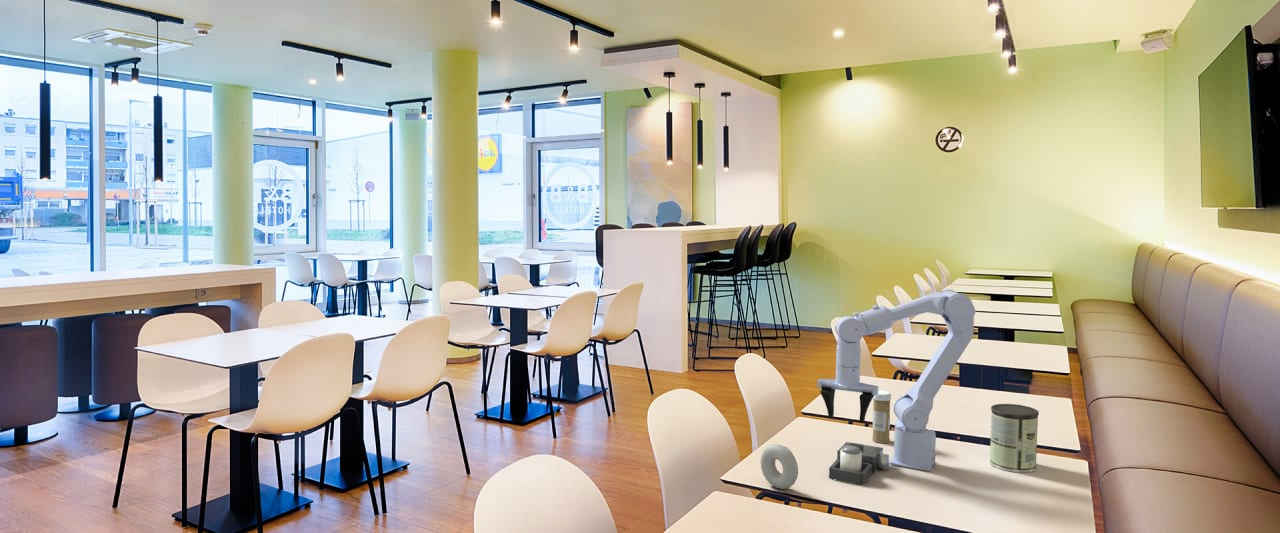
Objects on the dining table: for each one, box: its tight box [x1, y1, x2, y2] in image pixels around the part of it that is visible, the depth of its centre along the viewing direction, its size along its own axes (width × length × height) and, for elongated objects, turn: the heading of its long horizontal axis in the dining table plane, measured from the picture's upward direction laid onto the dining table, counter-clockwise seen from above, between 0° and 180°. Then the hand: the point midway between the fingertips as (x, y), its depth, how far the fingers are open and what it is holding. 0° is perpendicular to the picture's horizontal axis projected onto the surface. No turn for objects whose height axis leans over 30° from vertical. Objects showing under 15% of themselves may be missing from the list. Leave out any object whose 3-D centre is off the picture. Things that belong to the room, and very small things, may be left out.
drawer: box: [836, 441, 890, 475], centre depth 179 cm, size 11×8×5 cm
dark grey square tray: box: [828, 458, 873, 485], centre depth 173 cm, size 8×9×2 cm
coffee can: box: [989, 403, 1040, 474], centre depth 179 cm, size 10×10×14 cm
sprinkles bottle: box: [872, 390, 892, 444], centre depth 198 cm, size 5×5×14 cm
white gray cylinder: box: [840, 445, 862, 473], centre depth 172 cm, size 5×5×7 cm
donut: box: [760, 443, 799, 490], centre depth 165 cm, size 10×4×10 cm, turn 38°
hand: (846, 419), depth 183 cm, fingers open, 7 cm apart
